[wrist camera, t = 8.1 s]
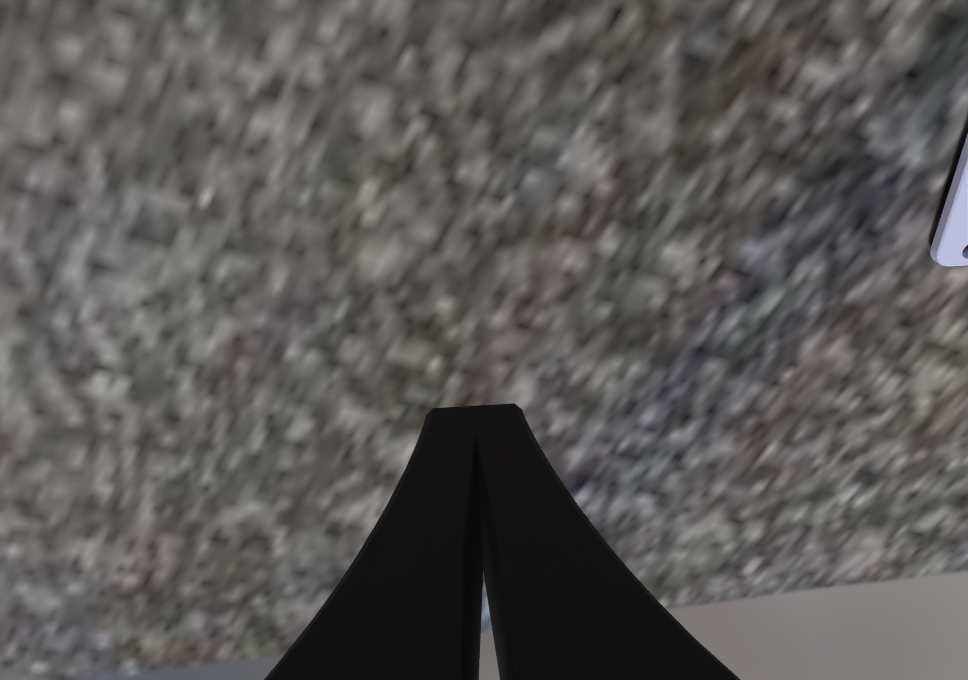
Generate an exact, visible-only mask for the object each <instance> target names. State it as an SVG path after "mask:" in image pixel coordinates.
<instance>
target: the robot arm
mask: <svg viewBox="0 0 968 680" xmlns="http://www.w3.org/2000/svg"><path fill="white" fill-rule="evenodd" d="M967 245H968V134H967V137H966V141H965V144H964V147H963V150H962V153H961V156H960V159H959V162H958V165H957V168H956V172H955V175H954V178H953V181H952V184H951V187H950V190H949V193H948V196H947V199H946V202H945V206H944V209H943V212H942V215H941V218H940V221H939V224H938V227H937V230H936V233H935V237H934V240H933V243H932V246H931V251H930V255H931V257H932V259H933V260H935V261H936V262H938V263H939V264H941V265H943V266H963V265H968V250H967V251H966V252H964V253H962V251H963V249H964V248H965V247H966V246H967ZM483 571H484V578H485V584H486V591H487V597H488V604H489V611H490V617H491V624H492V630H493V636H494V643H495V649H496V656H497V662H498V669H499V675H500V680H740V679H739V678H738V677H737V676H736V675H735V674H733V673H732V672H731V671H730V670H729V669H728V668H727V667H726V666H725V665H724V664H722V663H721V662H720V661H719V660H718V659H717V658H716V657H715V656H714V655H712V654H711V653H710V652H709V651H708V650H707V649H706V648H704V647H703V645H701V644H700V643H699V642H698V641H697V640H696V639H695V638H694V637H693V636H692V635H691V634H690V633H688V632H687V630H686V629H685V628H684V627H683V626H682V625H681V624H680V623H679V622H678V621H677V620H676V619H675V618H674V617H673V616H672V615H671V614H670V613H669V612H668V611H667V610H666V609H665V608H664V607H663V606H662V605H661V604H660V603H659V602H658V601H657V600H656V599H655V597H654V596H653V595H652V594H651V593H650V592H649V591H648V590H647V589H646V588H645V587H644V586H643V584H642V583H641V582H640V581H639V580H638V579H637V578H636V577H635V576H634V575H633V574H632V572H631V571H630V570H629V569H628V568H627V567H626V565H625V564H624V563H623V562H622V561H621V560H620V558H619V557H618V556H617V555H616V554H615V552H614V551H613V550H612V549H611V548H610V546H609V545H608V544H607V543H606V541H605V540H604V539H603V538H602V536H601V535H600V534H599V532H598V531H597V530H596V529H595V527H594V526H593V525H592V524H591V522H590V521H589V520H588V518H587V517H586V516H585V514H584V513H583V512H582V510H581V509H580V507H579V506H578V505H577V503H576V502H575V500H574V499H573V497H572V496H571V495H570V493H569V492H568V490H567V489H566V487H565V486H564V484H563V483H562V481H561V480H560V478H559V477H558V476H557V474H556V472H555V471H554V469H553V468H552V466H551V465H550V463H549V461H548V460H547V458H546V456H545V455H544V453H543V451H542V449H541V448H540V446H539V444H538V443H537V441H536V439H535V437H534V435H533V433H532V431H531V429H530V427H529V425H528V423H527V421H526V419H525V416H524V414H523V411H522V409H521V408H519V407H518V406H517V405H516V404H499V405H482V406H465V407H448V408H433V409H432V410H431V411H430V412H429V413H428V414H427V415H426V418H425V422H424V425H423V428H422V431H421V434H420V436H419V439H418V442H417V444H416V446H415V449H414V451H413V453H412V456H411V458H410V460H409V462H408V465H407V467H406V469H405V471H404V473H403V475H402V477H401V479H400V481H399V483H398V485H397V487H396V489H395V491H394V492H393V494H392V496H391V498H390V500H389V502H388V504H387V506H386V508H385V510H384V511H383V513H382V515H381V517H380V518H379V520H378V522H377V523H376V525H375V527H374V528H373V530H372V532H371V533H370V535H369V537H368V538H367V540H366V542H365V543H364V545H363V547H362V548H361V550H360V552H359V553H358V555H357V557H356V558H355V560H354V561H353V563H352V564H351V566H350V567H349V569H348V570H347V572H346V573H345V575H344V576H343V578H342V579H341V581H340V582H339V584H338V585H337V586H336V588H335V589H334V591H333V592H332V594H331V595H330V596H329V598H328V599H327V600H326V602H325V603H324V605H323V606H322V607H321V609H320V610H319V611H318V613H317V614H316V616H315V617H314V618H313V620H312V621H311V622H310V624H309V625H308V626H307V627H306V629H305V630H304V631H303V632H302V634H301V635H300V636H299V637H298V639H297V640H296V641H295V642H294V644H293V645H292V646H291V647H290V649H289V650H288V651H287V652H286V654H285V655H284V656H283V657H282V659H281V660H280V661H279V662H278V664H277V665H276V666H275V668H274V669H273V670H272V671H271V672H270V673H269V674H268V676H267V677H266V678H265V679H264V680H479V658H480V634H481V611H482V587H483Z"/></svg>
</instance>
